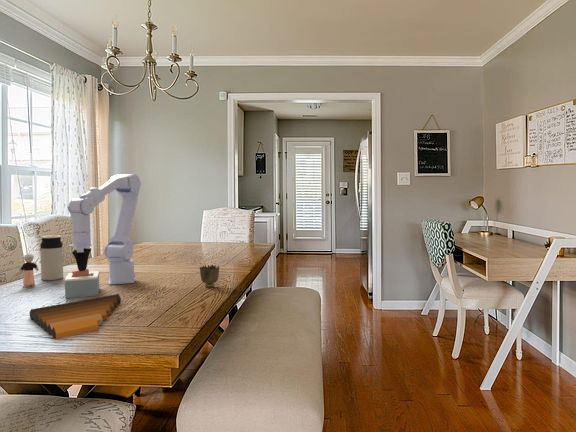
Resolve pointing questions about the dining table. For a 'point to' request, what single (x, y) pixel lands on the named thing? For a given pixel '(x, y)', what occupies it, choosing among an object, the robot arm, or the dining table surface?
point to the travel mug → (51, 257)
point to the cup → (209, 275)
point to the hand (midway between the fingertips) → (82, 269)
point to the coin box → (82, 285)
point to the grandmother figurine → (28, 271)
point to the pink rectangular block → (80, 273)
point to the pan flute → (74, 316)
